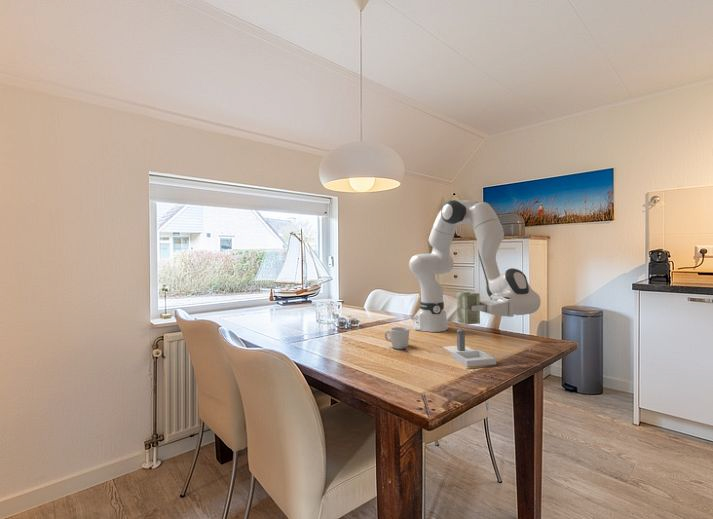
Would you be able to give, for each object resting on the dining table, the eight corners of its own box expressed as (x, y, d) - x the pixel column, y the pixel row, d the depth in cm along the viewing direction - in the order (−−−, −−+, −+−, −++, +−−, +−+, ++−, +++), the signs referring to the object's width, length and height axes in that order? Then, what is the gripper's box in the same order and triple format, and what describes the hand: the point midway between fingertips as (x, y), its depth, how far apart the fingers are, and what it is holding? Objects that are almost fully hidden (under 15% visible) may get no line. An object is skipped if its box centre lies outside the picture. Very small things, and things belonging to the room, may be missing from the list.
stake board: (442, 349, 146) (441, 327, 146) (464, 347, 148) (464, 326, 148) (453, 356, 136) (453, 332, 136) (477, 354, 138) (477, 331, 138)
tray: (452, 359, 132) (452, 351, 132) (479, 357, 134) (479, 349, 134) (467, 369, 121) (466, 360, 121) (496, 366, 123) (496, 358, 123)
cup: (381, 348, 149) (381, 329, 149) (388, 343, 156) (388, 325, 156) (405, 351, 144) (405, 331, 144) (412, 346, 151) (411, 327, 151)
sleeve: (457, 321, 135) (456, 292, 135) (471, 320, 136) (471, 292, 136) (465, 324, 129) (464, 294, 129) (480, 323, 130) (479, 293, 130)
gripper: (484, 293, 145) (452, 295, 143) (516, 299, 125) (480, 301, 122) (484, 308, 145) (453, 310, 143) (516, 317, 125) (480, 319, 123)
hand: (465, 306), depth 132 cm, fingers closed on sleeve, 6 cm apart
